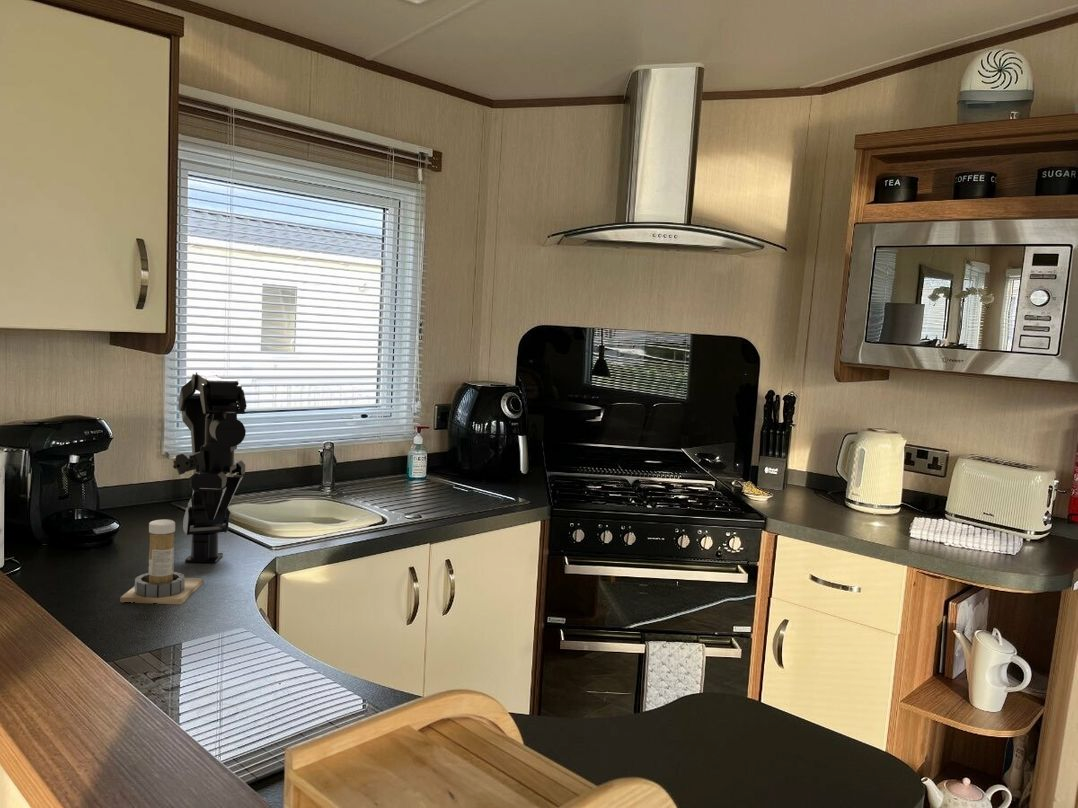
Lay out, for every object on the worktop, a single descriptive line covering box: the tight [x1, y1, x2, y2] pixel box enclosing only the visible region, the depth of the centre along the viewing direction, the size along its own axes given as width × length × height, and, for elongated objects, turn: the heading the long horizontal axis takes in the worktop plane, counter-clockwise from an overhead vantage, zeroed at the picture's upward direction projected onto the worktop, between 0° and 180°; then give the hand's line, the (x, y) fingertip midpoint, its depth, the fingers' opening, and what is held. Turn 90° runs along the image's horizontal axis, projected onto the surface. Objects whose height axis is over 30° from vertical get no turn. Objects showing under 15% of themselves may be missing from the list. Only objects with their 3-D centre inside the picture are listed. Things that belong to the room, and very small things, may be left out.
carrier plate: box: [119, 577, 204, 605], centre depth 165 cm, size 13×11×2 cm
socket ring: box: [134, 571, 186, 598], centre depth 163 cm, size 8×8×2 cm
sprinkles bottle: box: [148, 519, 176, 583], centre depth 162 cm, size 5×5×14 cm
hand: (217, 514), depth 176 cm, fingers open, 9 cm apart
